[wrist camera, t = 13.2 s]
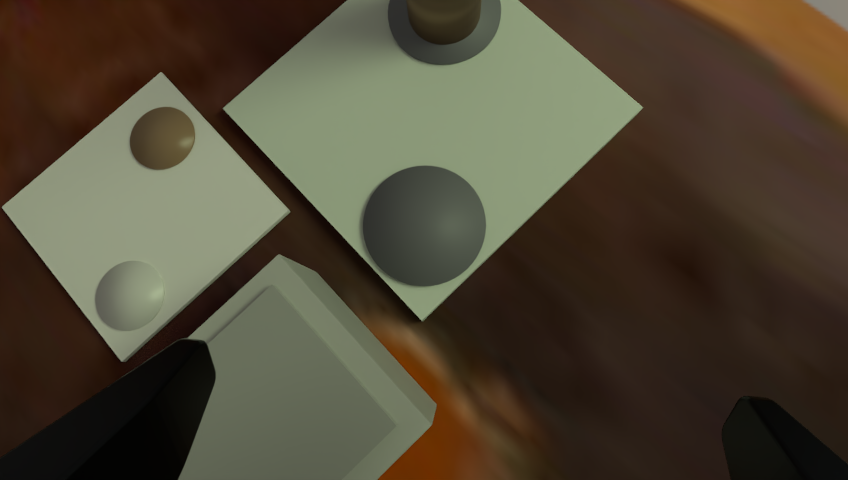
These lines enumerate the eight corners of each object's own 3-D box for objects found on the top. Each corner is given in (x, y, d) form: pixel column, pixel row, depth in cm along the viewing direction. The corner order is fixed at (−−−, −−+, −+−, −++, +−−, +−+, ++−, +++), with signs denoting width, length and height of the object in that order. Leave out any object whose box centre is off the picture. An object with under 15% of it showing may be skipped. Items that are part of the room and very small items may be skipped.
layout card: (126, 361, 23) (119, 361, 22) (6, 208, 24) (-1, 206, 24) (290, 211, 24) (287, 209, 23) (164, 75, 25) (159, 70, 25)
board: (422, 321, 22) (421, 320, 21) (228, 113, 25) (220, 106, 24) (638, 113, 23) (644, 105, 23) (432, -65, 26) (431, -77, 25)
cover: (298, 541, 21) (245, 612, 15) (182, 396, 22) (97, 414, 17) (436, 404, 21) (431, 426, 16) (316, 271, 23) (275, 252, 18)
